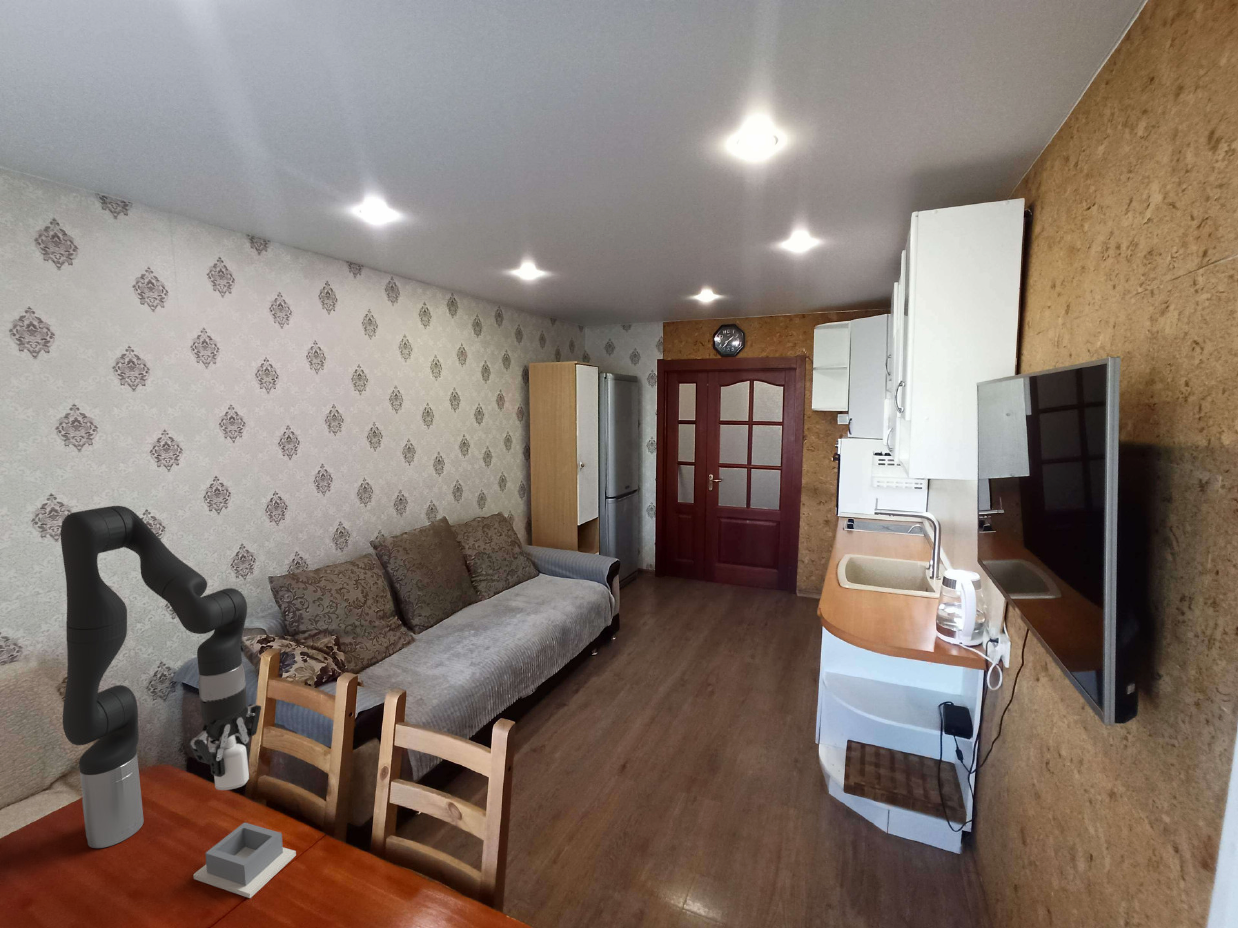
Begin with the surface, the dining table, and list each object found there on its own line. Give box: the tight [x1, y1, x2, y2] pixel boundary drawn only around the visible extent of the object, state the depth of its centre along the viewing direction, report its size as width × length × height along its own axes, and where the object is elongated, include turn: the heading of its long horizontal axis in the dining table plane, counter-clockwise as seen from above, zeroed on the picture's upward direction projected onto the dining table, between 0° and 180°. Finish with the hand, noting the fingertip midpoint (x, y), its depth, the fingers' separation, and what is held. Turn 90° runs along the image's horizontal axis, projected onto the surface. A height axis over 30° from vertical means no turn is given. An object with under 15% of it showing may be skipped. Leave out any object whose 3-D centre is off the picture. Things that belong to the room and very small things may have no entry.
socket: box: [193, 822, 297, 899], centre depth 112 cm, size 15×10×6 cm
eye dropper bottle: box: [213, 734, 250, 791], centre depth 110 cm, size 4×6×12 cm
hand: (230, 767), depth 110 cm, fingers closed on eye dropper bottle, 4 cm apart
